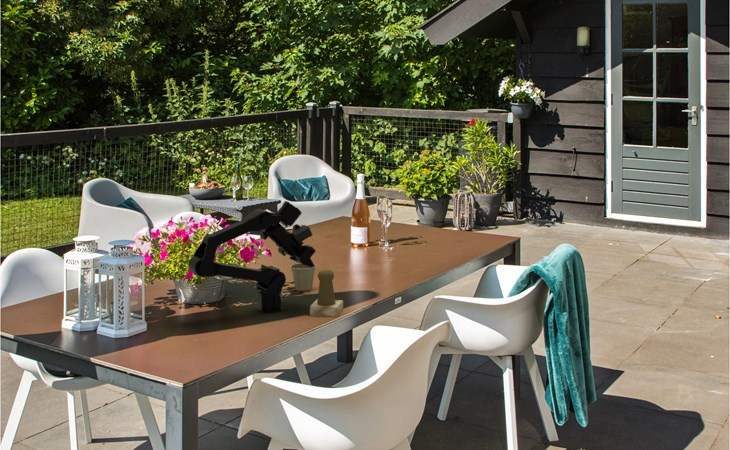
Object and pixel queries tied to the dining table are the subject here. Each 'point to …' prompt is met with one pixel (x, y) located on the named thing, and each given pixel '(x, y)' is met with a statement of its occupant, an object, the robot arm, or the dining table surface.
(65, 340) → the dining table surface
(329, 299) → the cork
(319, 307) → the beige square block
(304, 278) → the flower pot
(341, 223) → the dining table surface
